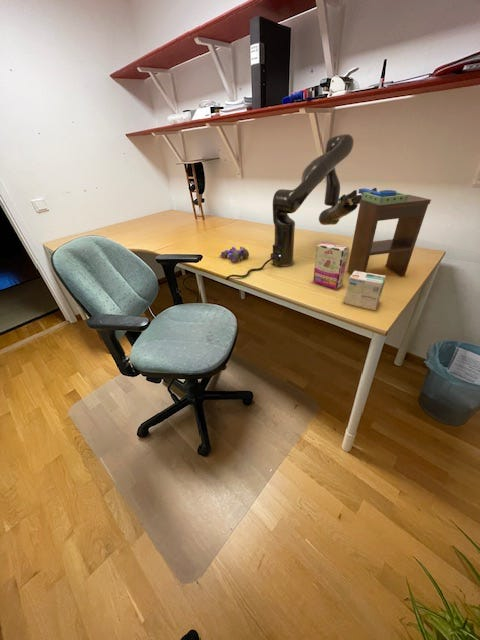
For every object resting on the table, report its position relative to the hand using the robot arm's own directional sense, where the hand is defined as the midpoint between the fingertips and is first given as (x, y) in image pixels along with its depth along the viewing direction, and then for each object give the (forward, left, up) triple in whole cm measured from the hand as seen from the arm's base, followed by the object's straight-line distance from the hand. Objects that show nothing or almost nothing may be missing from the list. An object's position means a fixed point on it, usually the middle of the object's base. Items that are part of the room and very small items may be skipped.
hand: (366, 191), depth 103 cm
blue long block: (-2, -6, -1) cm, 7 cm away
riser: (0, -13, -32) cm, 34 cm away
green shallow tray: (-4, -11, -2) cm, 12 cm away
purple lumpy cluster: (-41, +43, -32) cm, 68 cm away
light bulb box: (-24, -26, -32) cm, 47 cm away
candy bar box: (-23, -8, -32) cm, 40 cm away
